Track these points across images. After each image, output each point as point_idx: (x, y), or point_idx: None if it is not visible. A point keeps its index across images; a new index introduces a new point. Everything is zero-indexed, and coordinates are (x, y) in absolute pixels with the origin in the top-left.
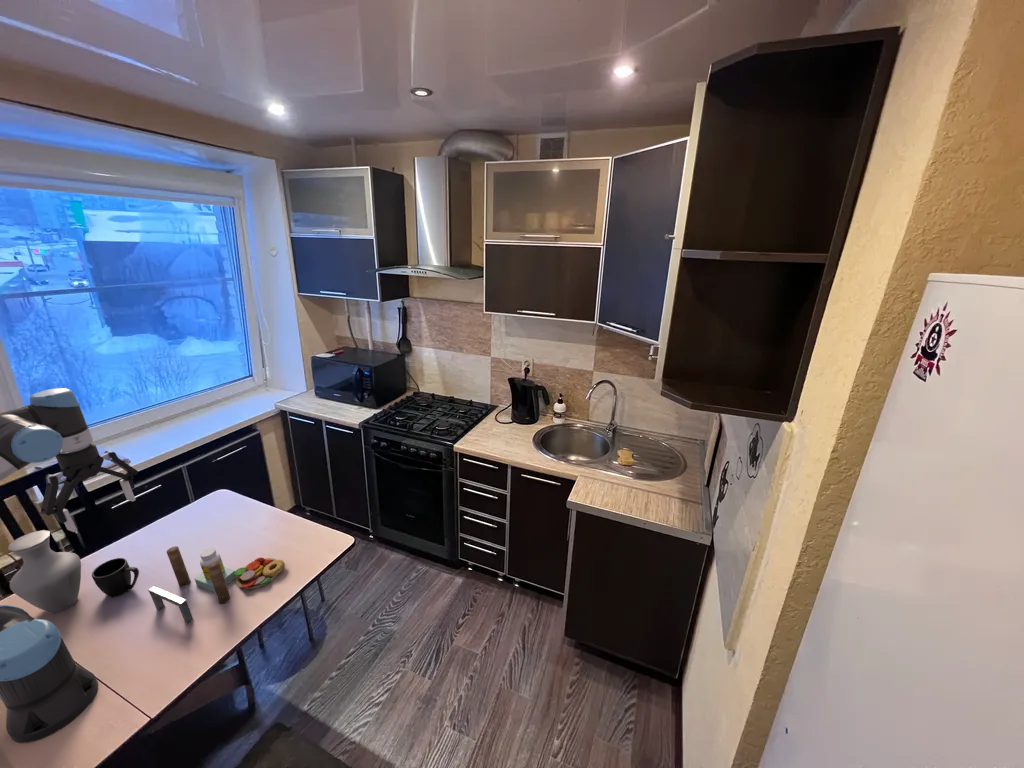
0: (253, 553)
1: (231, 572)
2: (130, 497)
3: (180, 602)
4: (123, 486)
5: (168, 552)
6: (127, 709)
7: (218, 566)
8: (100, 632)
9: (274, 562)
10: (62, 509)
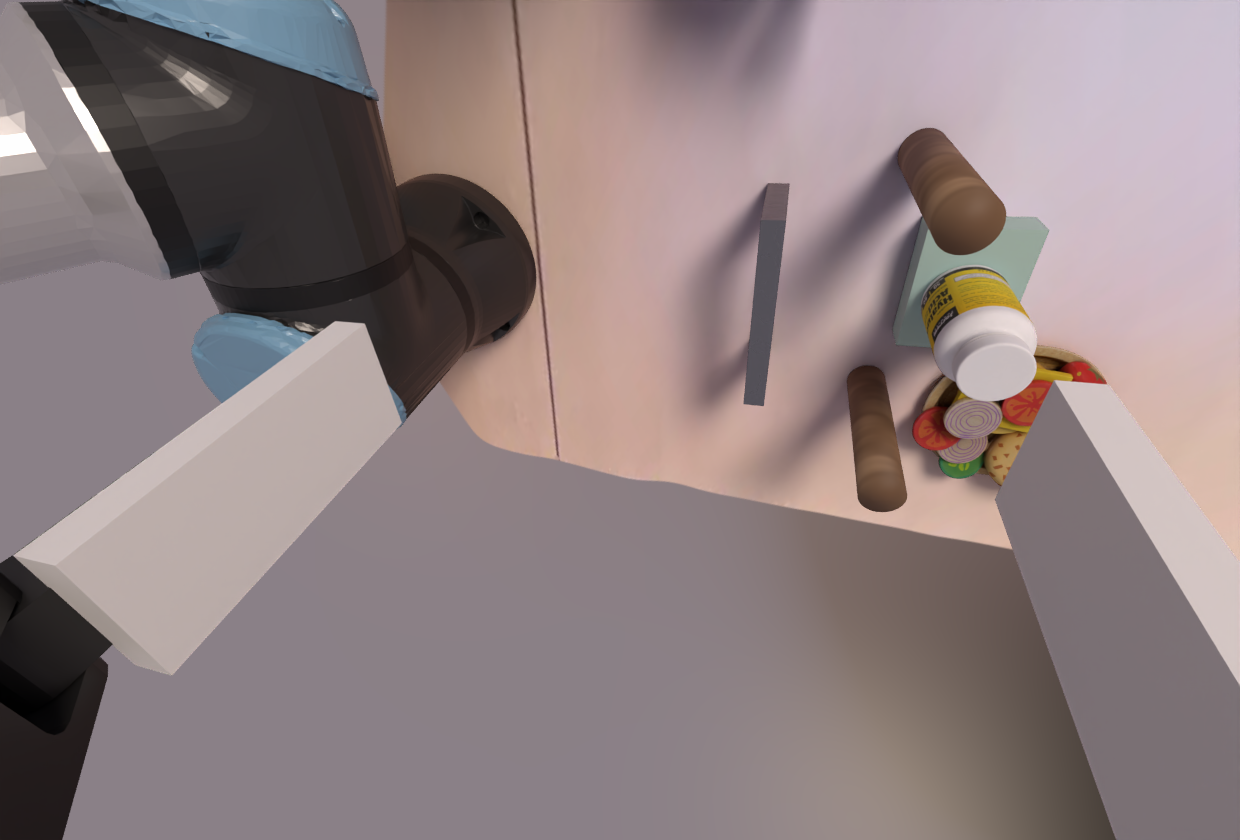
0: (1166, 297)
1: None
2: (1023, 536)
3: (747, 398)
4: (1168, 696)
5: (940, 223)
6: (543, 412)
7: (883, 508)
8: (620, 77)
9: None
10: (88, 697)
